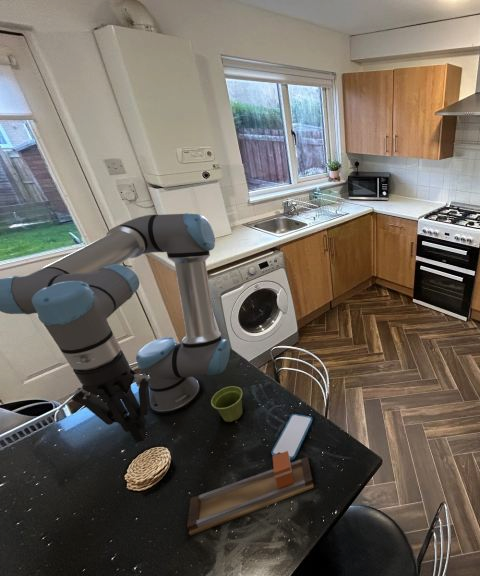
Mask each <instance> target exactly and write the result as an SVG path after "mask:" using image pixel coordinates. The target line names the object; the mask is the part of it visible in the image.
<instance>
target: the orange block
mask: <svg viewBox="0 0 480 576" xmlns="http://www.w3.org/2000/svg"><path fill="white" fill-rule="evenodd" d="M271 456H272V455H271ZM291 463H292V462H291V460H290V457H289V454H288V451H286V452H283V453H280V454H277V455H274V456H272V466H273V469H274V476H275V478H276V482H277V486H278V489H282V488H284V487H287V486H290V485H292V484H294V480H293V473H292V468H291Z"/></svg>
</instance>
